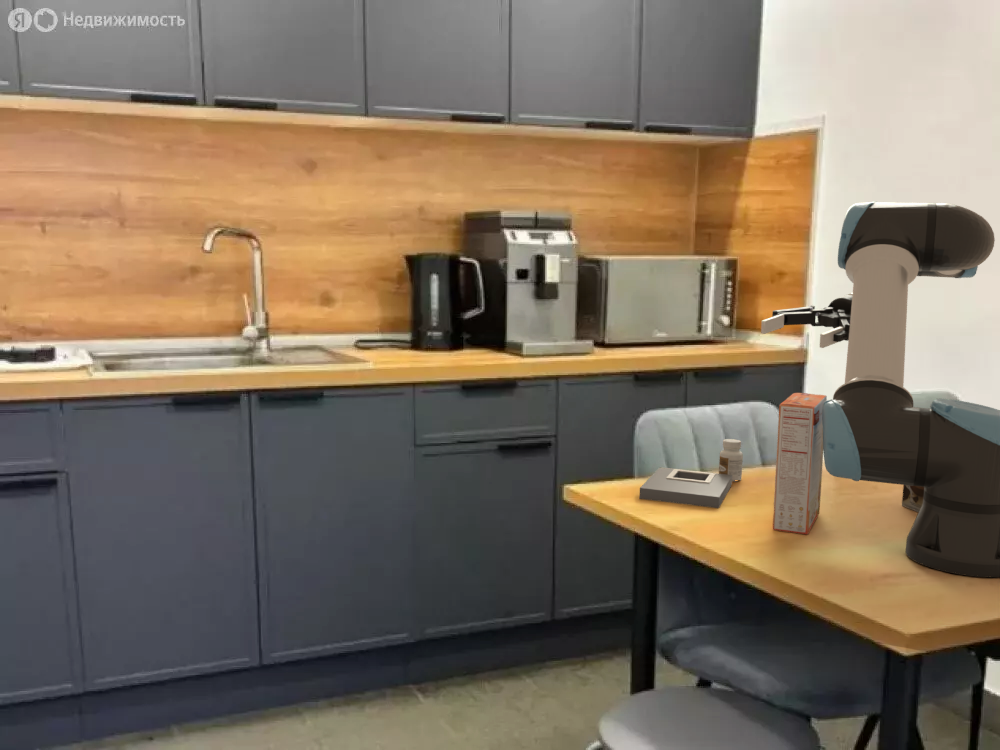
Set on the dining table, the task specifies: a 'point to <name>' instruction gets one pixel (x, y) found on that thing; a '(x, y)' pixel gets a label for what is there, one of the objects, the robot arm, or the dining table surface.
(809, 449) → the cracker box
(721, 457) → the pill bottle
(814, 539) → the dining table surface
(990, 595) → the dining table surface
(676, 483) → the socket plate
